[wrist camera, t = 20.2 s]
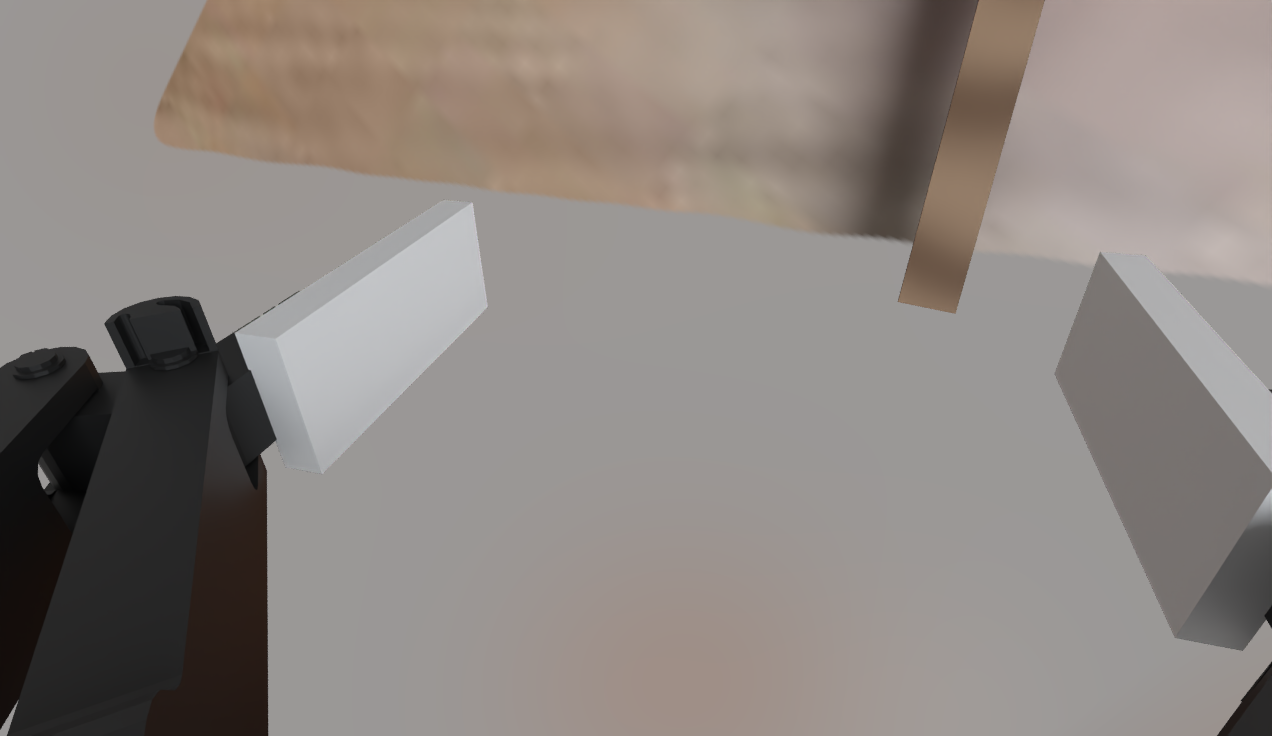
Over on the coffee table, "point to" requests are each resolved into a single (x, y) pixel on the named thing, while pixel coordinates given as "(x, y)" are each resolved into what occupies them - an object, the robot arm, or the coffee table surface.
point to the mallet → (969, 151)
